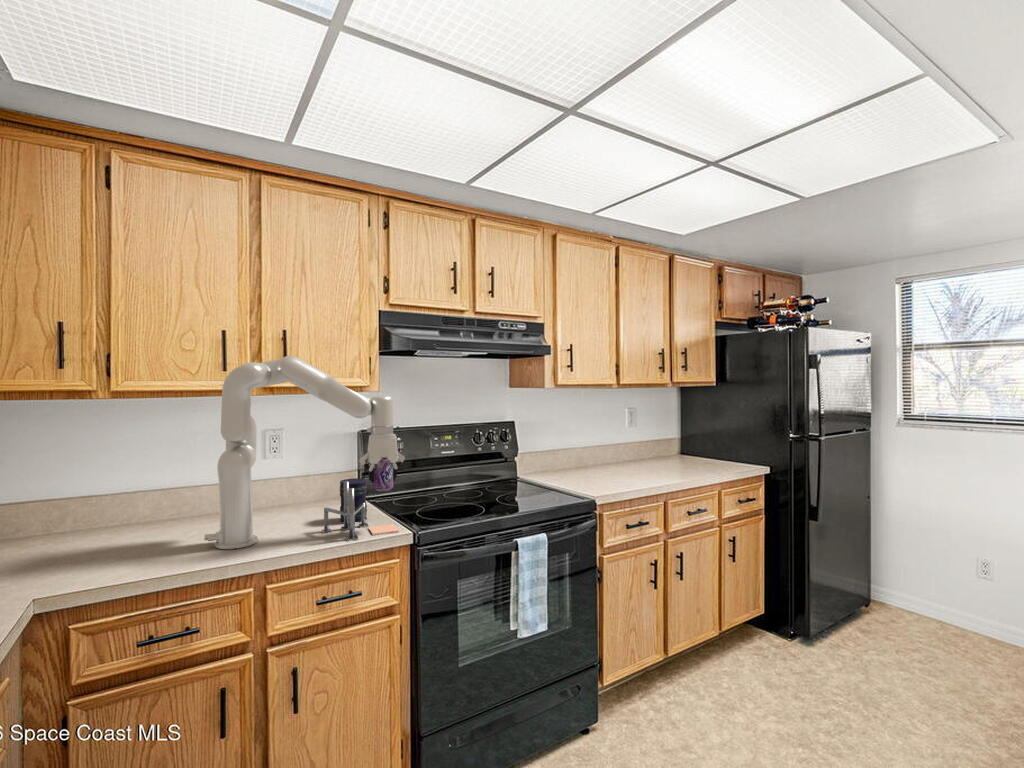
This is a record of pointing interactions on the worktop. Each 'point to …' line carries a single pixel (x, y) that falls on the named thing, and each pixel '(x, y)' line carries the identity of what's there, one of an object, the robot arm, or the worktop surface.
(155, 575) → the worktop surface
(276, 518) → the worktop surface
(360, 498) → the dark purple cylinder
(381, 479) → the beverage can
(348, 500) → the grey open angular frame
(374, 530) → the plate
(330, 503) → the worktop surface
